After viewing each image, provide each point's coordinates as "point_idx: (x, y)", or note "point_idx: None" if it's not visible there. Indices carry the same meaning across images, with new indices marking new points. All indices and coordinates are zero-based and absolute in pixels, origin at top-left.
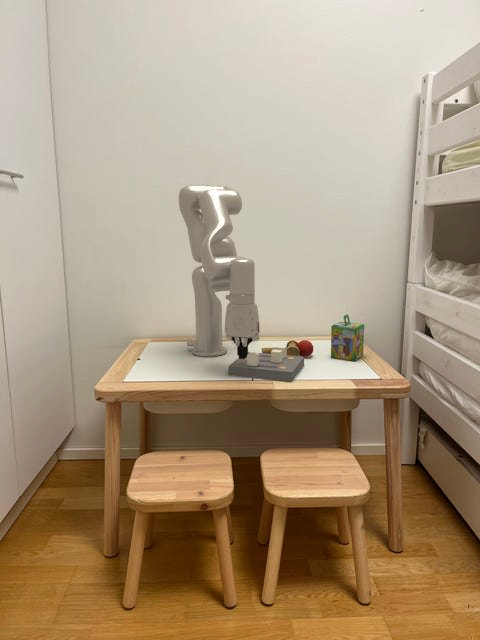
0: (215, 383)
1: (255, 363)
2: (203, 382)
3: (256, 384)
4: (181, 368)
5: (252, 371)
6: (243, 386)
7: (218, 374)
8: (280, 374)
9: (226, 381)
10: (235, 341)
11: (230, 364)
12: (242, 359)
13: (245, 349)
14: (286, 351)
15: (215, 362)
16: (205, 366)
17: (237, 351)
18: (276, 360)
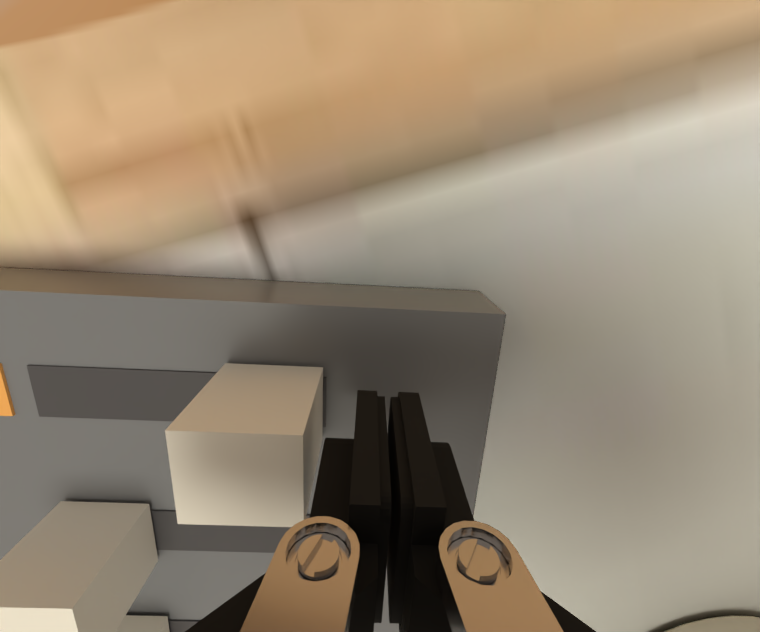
0: (542, 35)
1: (227, 377)
2: (659, 33)
3: (177, 115)
4: None
5: (257, 294)
6: (266, 19)
7: (563, 292)
8: None
9: (457, 125)
10: (548, 617)
11: (495, 363)
12: None
13: (327, 498)
14: None
15: (633, 537)
16: (694, 444)
17: (454, 470)
18: (81, 520)
